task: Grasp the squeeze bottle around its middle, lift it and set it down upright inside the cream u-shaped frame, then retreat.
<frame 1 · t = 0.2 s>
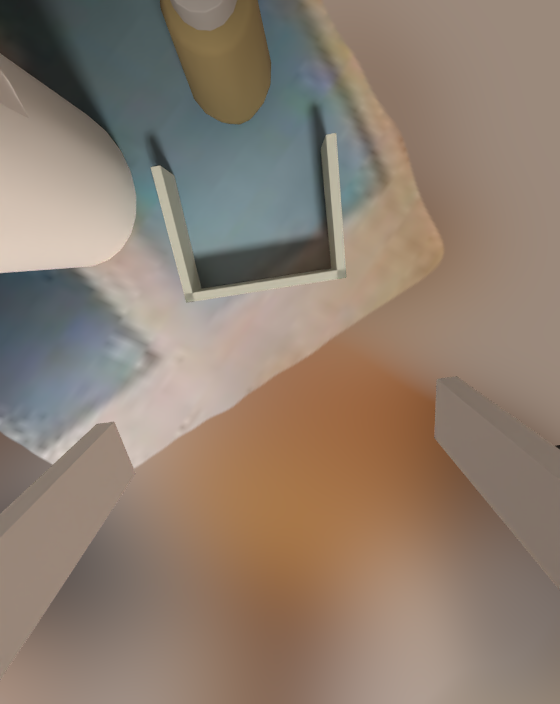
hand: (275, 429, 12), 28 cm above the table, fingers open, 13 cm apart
cream u-shaped frame: (257, 228, 34), on the table
squeeze bottle: (235, 93, 30), on the table
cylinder: (63, 191, 33), on the table
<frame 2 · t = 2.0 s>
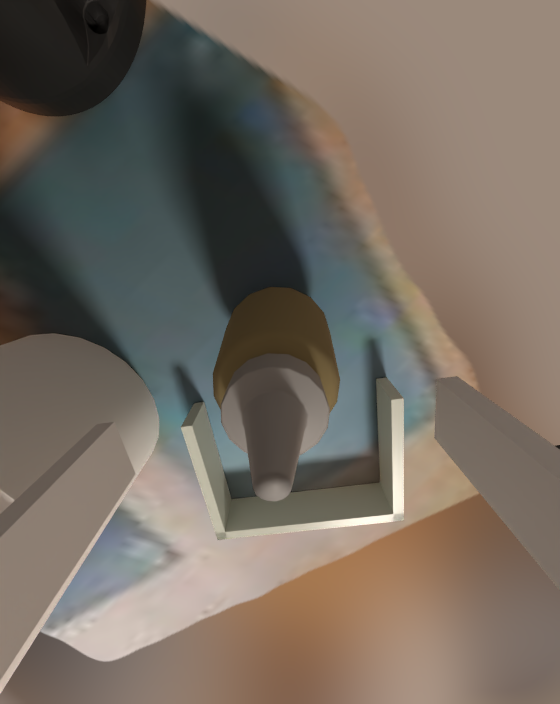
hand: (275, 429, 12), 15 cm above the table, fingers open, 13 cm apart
cream u-shaped frame: (297, 448, 30), on the table
squeeze bottle: (278, 326, 25), on the table
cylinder: (75, 413, 29), on the table
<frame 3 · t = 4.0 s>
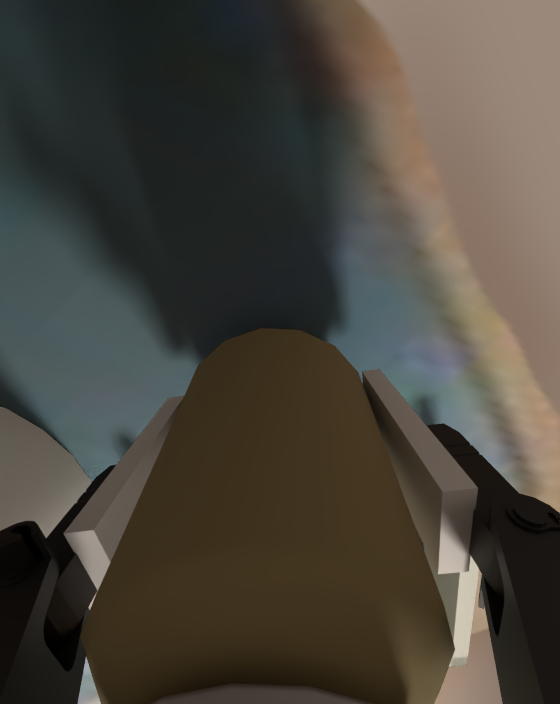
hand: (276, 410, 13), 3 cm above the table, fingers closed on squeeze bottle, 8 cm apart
cream u-shaped frame: (305, 545, 20), on the table
squeeze bottle: (277, 378, 16), on the table, touching gripper
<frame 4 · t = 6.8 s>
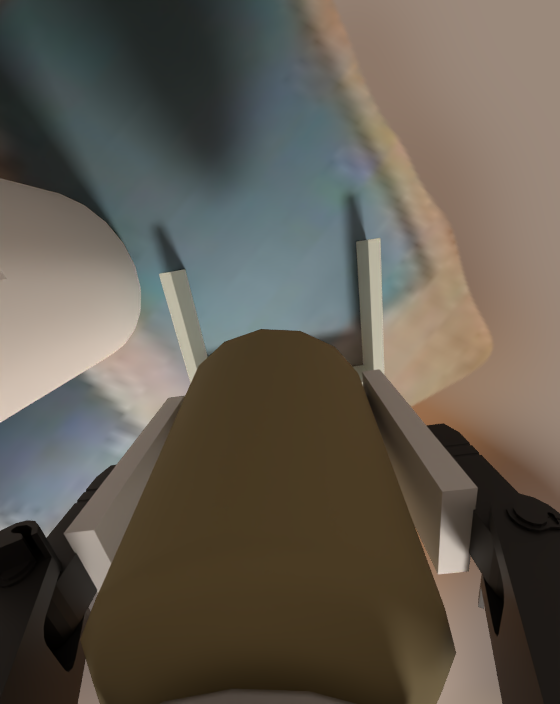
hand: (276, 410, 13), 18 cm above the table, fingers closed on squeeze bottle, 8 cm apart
cream u-shaped frame: (279, 324, 30), on the table
squeeze bottle: (277, 378, 16), point 14 cm above the table, touching gripper
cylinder: (57, 284, 29), on the table
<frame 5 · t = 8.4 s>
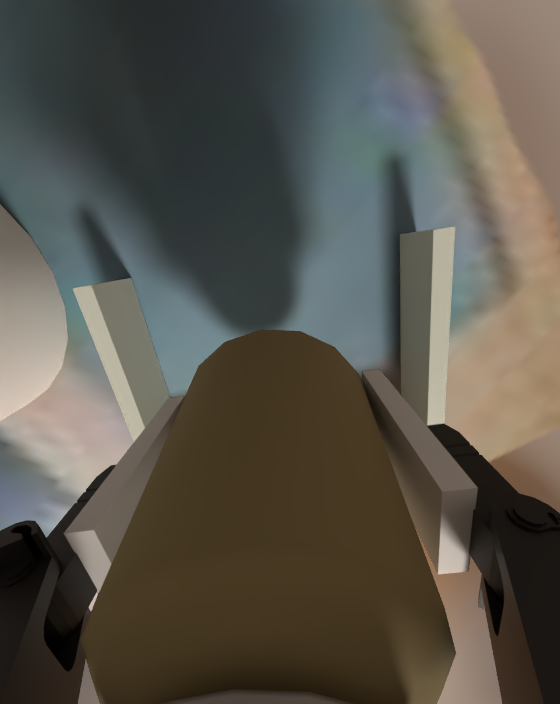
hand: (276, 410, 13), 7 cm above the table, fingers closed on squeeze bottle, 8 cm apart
cream u-shaped frame: (278, 359, 20), on the table
squeeze bottle: (277, 379, 16), point 4 cm above the table, touching gripper
when the fingers open (5 cm above the table, at t = 9.9 s): squeeze bottle drops 1 cm, on the table.
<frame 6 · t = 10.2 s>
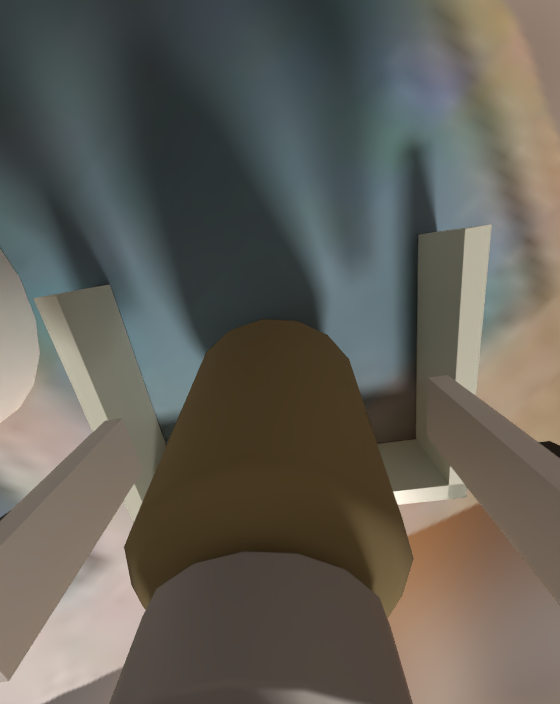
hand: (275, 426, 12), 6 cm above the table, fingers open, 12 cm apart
cream u-shaped frame: (278, 376, 18), on the table
squeeze bottle: (276, 367, 18), on the table
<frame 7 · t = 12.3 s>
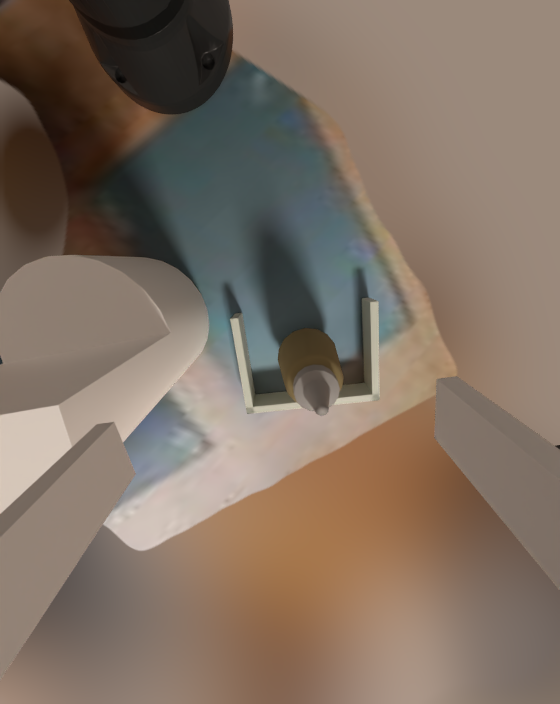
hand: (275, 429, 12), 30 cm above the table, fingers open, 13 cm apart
cream u-shaped frame: (305, 352, 42), on the table
squeeze bottle: (305, 348, 42), on the table
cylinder: (149, 319, 41), on the table
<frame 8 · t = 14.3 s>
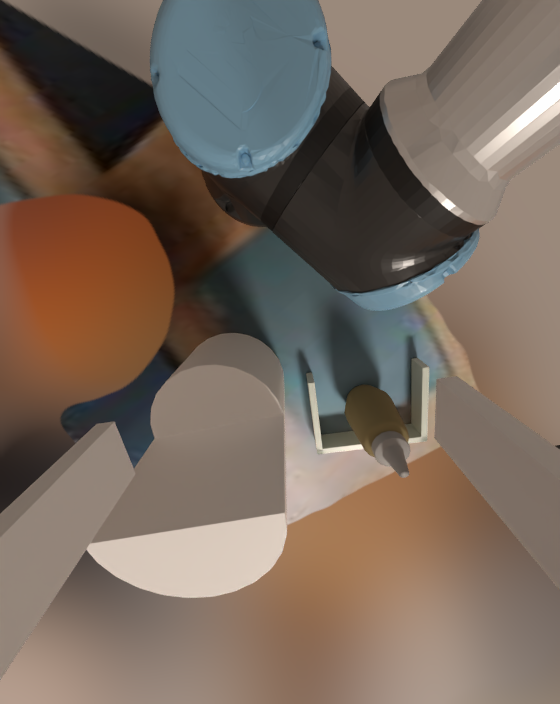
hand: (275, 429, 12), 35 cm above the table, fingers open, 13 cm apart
cream u-shaped frame: (363, 401, 50), on the table
squeeze bottle: (362, 398, 50), on the table
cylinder: (235, 379, 49), on the table
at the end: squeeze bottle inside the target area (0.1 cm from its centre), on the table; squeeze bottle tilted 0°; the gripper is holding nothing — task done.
